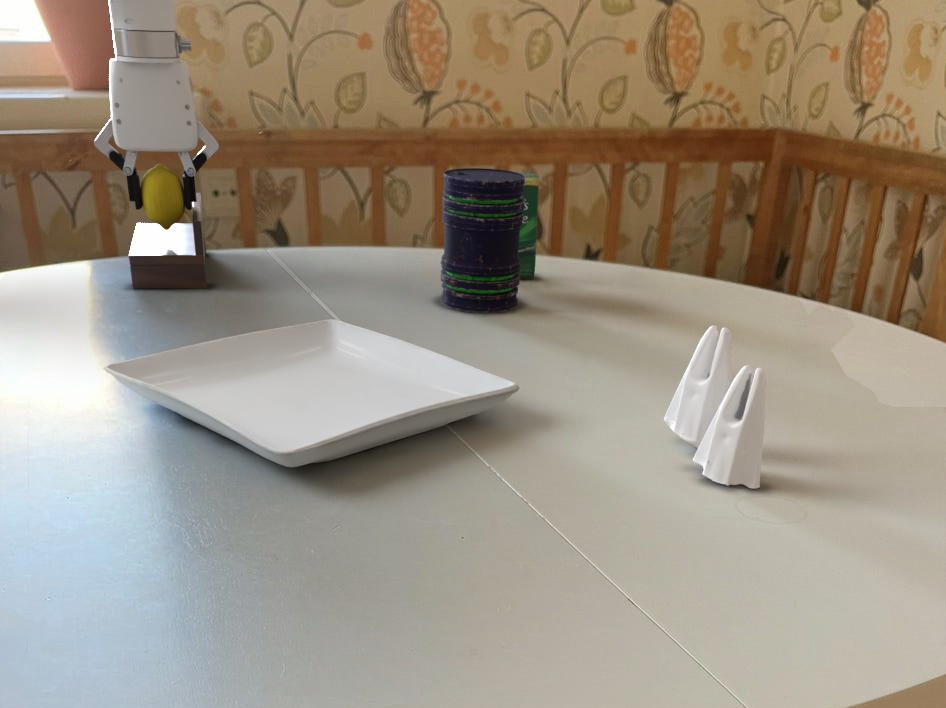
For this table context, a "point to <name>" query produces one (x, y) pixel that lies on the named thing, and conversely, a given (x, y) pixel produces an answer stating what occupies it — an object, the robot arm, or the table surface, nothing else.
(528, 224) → the coffee box
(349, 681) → the table surface
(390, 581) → the table surface
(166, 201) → the lemon
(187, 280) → the block with corner post
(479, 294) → the navy striped canister
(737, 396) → the shaker set
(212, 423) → the square plate
